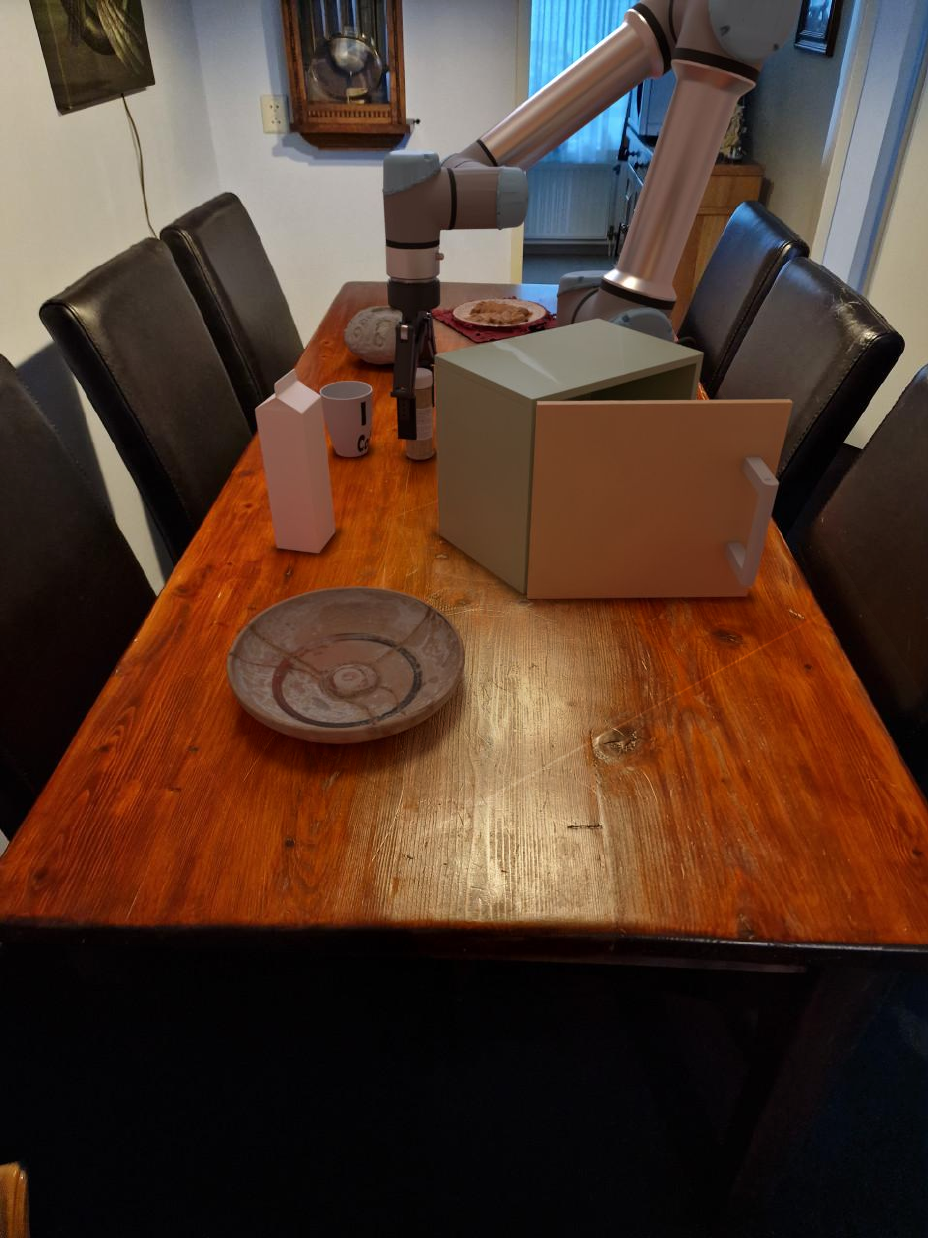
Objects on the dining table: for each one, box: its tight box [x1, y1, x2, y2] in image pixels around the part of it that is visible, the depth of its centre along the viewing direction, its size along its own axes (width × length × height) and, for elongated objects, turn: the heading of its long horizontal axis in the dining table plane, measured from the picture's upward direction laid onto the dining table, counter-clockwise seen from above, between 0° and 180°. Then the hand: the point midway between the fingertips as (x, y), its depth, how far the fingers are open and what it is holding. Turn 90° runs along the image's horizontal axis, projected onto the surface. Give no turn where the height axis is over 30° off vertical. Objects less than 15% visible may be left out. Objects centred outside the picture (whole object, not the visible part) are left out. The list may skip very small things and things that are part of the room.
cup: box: [319, 380, 374, 458], centre depth 129 cm, size 8×8×10 cm
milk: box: [254, 368, 336, 554], centre depth 102 cm, size 6×6×22 cm
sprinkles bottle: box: [403, 368, 435, 461], centre depth 126 cm, size 5×5×14 cm
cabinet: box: [434, 319, 705, 595], centre depth 102 cm, size 18×26×24 cm
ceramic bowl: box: [226, 585, 466, 744], centre depth 82 cm, size 23×24×5 cm
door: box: [526, 398, 794, 600], centre depth 87 cm, size 8×26×24 cm, turn 91°
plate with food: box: [432, 295, 557, 343], centre depth 191 cm, size 24×26×3 cm
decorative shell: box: [343, 305, 405, 366], centre depth 166 cm, size 18×18×10 cm
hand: (417, 422), depth 127 cm, fingers open, 13 cm apart
